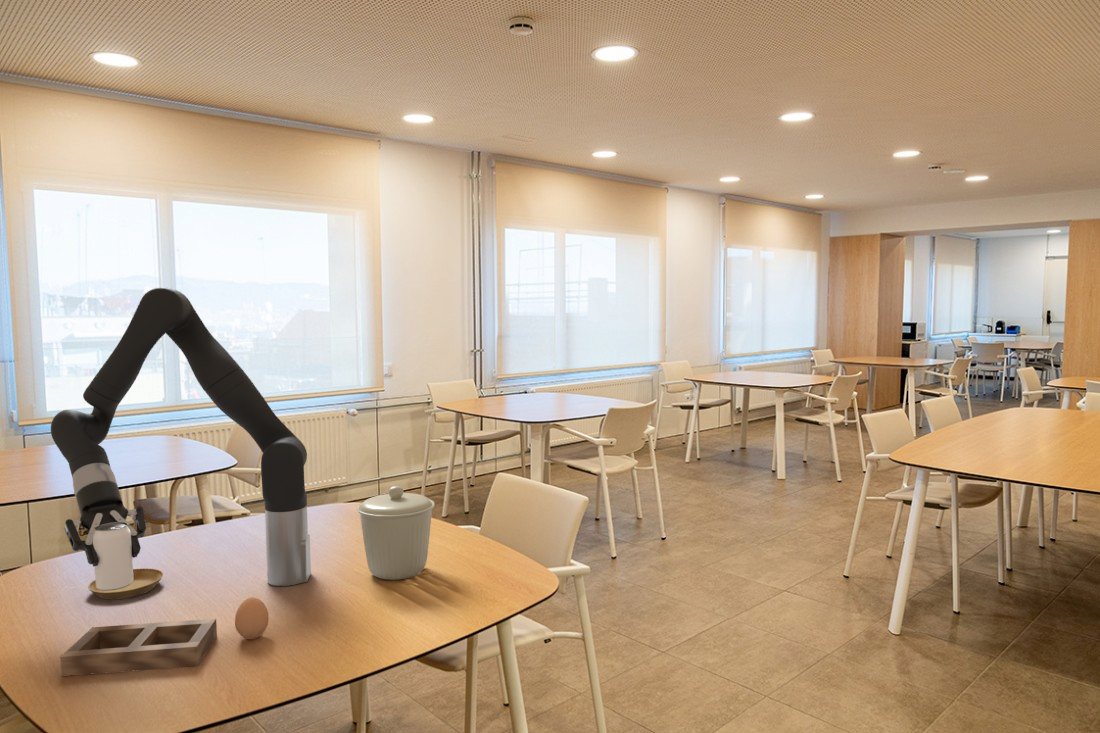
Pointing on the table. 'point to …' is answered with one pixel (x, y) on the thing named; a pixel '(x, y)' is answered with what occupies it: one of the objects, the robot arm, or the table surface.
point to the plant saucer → (131, 585)
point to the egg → (251, 618)
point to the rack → (139, 647)
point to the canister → (396, 533)
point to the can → (113, 556)
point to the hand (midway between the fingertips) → (116, 559)
